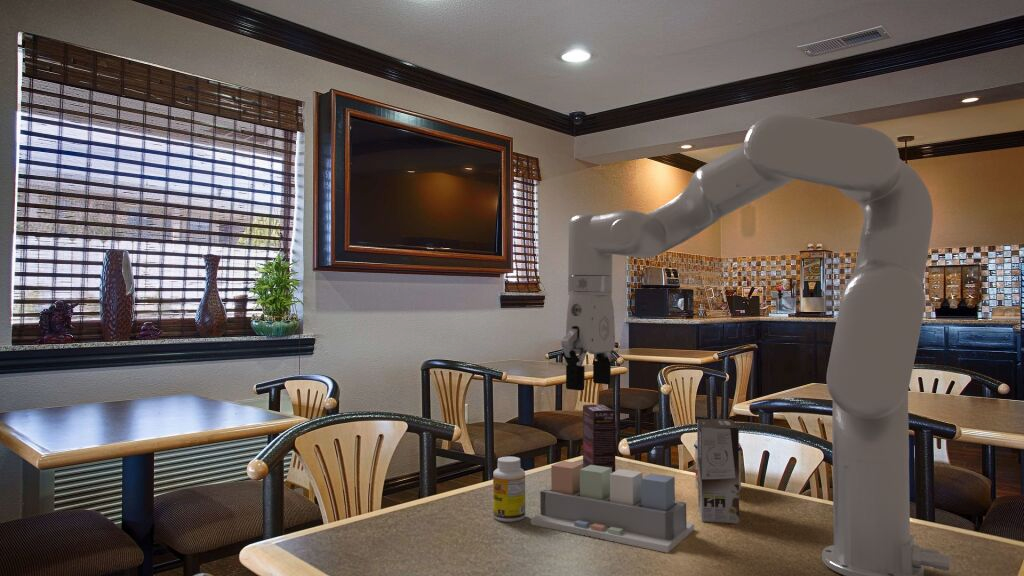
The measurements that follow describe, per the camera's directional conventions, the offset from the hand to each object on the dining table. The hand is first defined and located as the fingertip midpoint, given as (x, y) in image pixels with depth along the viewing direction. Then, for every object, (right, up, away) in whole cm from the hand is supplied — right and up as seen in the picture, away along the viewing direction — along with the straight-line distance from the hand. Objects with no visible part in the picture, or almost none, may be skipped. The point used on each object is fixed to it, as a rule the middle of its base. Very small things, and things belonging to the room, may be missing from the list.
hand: (588, 386), depth 117 cm
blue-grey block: (+10, -18, -8) cm, 23 cm away
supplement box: (+5, -24, +22) cm, 32 cm away
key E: (+1, -19, -2) cm, 19 cm away
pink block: (-4, -19, +1) cm, 19 cm away
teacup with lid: (+28, -23, +17) cm, 40 cm away
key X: (+6, -19, -5) cm, 20 cm away
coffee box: (+23, -23, +3) cm, 33 cm away
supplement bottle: (-14, -23, +1) cm, 27 cm away
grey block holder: (+3, -23, -4) cm, 23 cm away
